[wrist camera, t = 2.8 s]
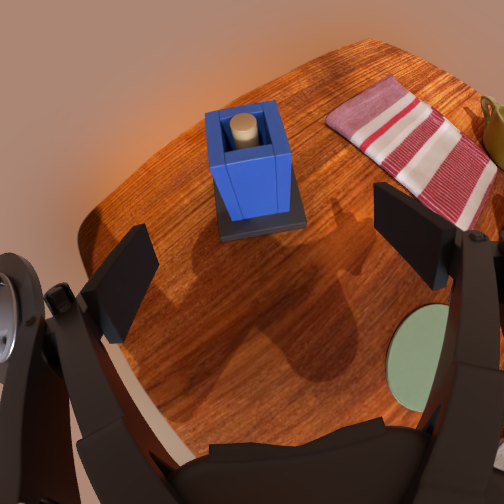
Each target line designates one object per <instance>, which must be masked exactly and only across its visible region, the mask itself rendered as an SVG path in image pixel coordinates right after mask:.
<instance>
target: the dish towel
mask: <svg viewBox="0 0 504 504" xmlns="http://www.w3.org/2000/svg"><path fill="white" fill-rule="evenodd" d="M325 123H326V124H328V125H329V126H330V127H331V128H333V129H335V130H336V131H337V132H339V133H340V134H341V135H343V136H344V137H346V138H347V139H348V140H349V141H350V142H352V143H353V144H354V145H356V146H357V147H358V148H359V149H360V150H361V151H362V152H364V153H365V154H366V155H367V156H369V157H370V158H371V159H373V160H374V161H375V162H376V163H377V164H378V165H380V166H381V167H382V168H383V169H384V170H385V171H387V172H388V173H389V174H390V175H391V176H392V177H394V178H395V179H396V180H397V181H399V182H400V183H401V184H402V185H404V186H405V187H406V188H407V189H408V190H409V191H410V192H411V193H412V194H414V195H415V197H416V198H417V199H418V200H419V201H420V202H421V203H422V204H423V205H424V206H426V207H427V208H429V209H430V210H432V211H433V212H435V213H438V214H440V215H442V216H443V217H444V218H446V219H447V220H449V221H450V222H451V223H453V224H455V225H456V226H457V227H459V228H460V229H462V230H463V231H466V230H473V228H474V226H475V224H476V222H477V220H478V217H479V215H480V213H481V211H482V209H483V207H484V204H485V202H486V200H487V197H488V195H489V193H490V190H491V188H492V186H493V184H494V182H495V179H496V176H497V173H498V169H497V167H496V165H495V164H494V163H493V162H492V161H491V160H490V158H489V157H488V156H487V155H486V153H485V152H484V151H483V150H482V149H481V148H480V147H479V146H478V145H477V144H476V143H475V142H473V141H472V140H471V139H470V138H469V137H467V136H466V135H465V134H464V133H463V132H461V131H459V130H458V129H457V128H456V127H455V126H454V125H453V124H452V123H451V122H450V121H449V120H447V119H446V118H445V117H444V116H443V115H442V114H441V113H439V112H438V111H437V110H436V109H435V108H433V107H432V106H430V105H429V104H427V103H425V102H423V101H422V100H420V99H419V98H417V97H416V96H415V95H413V94H412V93H411V92H409V91H408V90H407V89H406V88H404V87H403V86H402V85H401V84H400V83H399V82H398V81H397V80H396V79H395V78H394V77H393V76H391V75H388V76H386V77H385V78H383V79H382V80H380V81H379V82H377V83H375V84H374V85H372V86H371V87H370V88H368V89H367V90H365V91H364V92H362V93H360V94H359V95H358V96H356V97H354V98H352V99H350V100H349V101H347V102H345V103H344V104H342V105H341V106H339V107H338V108H336V109H335V110H333V111H332V112H331V113H329V114H328V115H327V117H326V120H325Z"/></svg>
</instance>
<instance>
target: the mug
mask: <svg viewBox="0 0 504 504" xmlns="http://www.w3.org/2000/svg"><path fill="white" fill-rule="evenodd" d="M488 105H490V106H491V107H492V113H491V118H490V114H489V109H488ZM481 108H482V111H483V114H484V118H485V125H484V133H483V143H484V146H485V149H486V150H487V152H488V153H489V155H490V157H491V159H492V160H493V162H494V163H495V164H496V165H497V166H498V167H499V168H501V169H502V170H504V105H499V104H498V103H497V101H496V100H495V99H494V98H493V97H492V96H490V95H487V96H482V97H481Z"/></svg>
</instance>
